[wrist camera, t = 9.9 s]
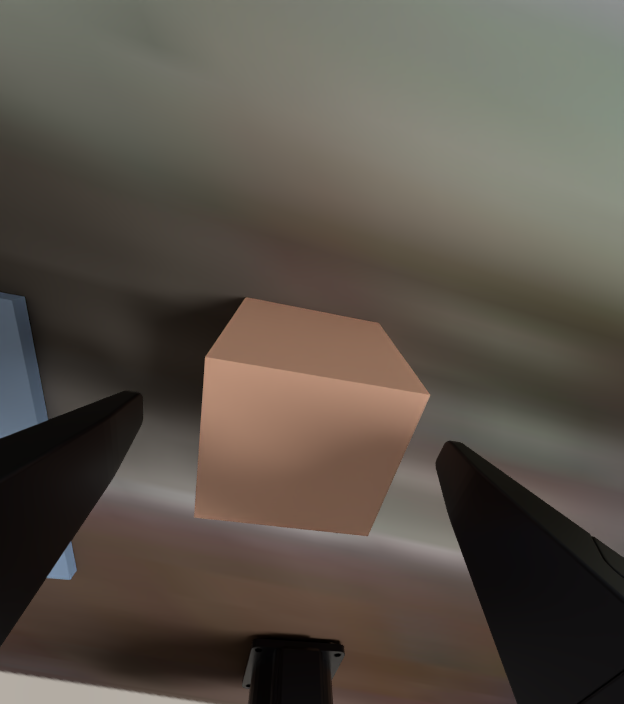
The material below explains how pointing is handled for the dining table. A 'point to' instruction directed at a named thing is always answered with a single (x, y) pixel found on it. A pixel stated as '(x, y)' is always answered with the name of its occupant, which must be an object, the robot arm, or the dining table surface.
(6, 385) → the board
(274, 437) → the terracotta block
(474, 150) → the dining table surface
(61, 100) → the dining table surface
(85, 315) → the dining table surface
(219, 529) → the dining table surface
